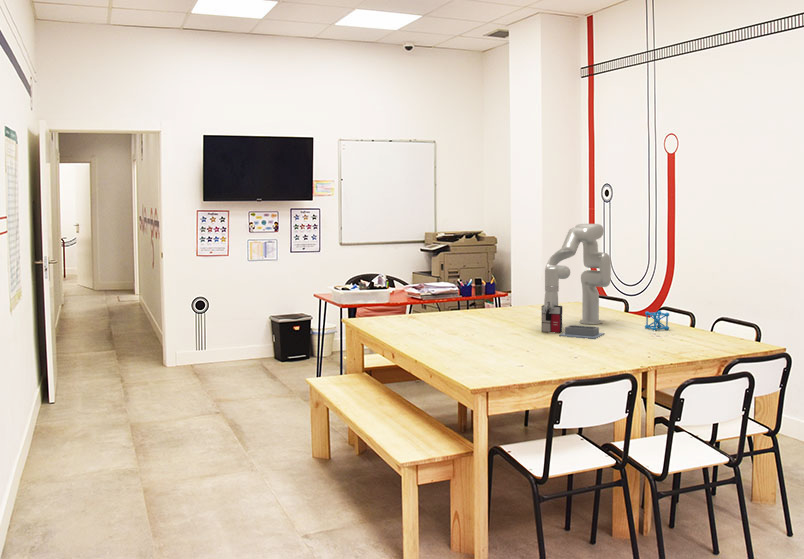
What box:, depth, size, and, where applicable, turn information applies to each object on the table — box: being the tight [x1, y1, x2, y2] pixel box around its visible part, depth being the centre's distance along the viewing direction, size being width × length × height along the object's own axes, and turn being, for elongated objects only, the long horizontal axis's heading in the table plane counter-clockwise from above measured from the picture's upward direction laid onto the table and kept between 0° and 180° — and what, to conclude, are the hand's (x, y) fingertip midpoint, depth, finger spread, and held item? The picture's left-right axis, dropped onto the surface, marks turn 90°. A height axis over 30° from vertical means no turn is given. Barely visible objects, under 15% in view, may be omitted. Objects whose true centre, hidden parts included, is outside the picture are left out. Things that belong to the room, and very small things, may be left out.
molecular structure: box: [644, 310, 670, 331], centre depth 411 cm, size 10×10×10 cm
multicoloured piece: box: [541, 304, 563, 334], centre depth 408 cm, size 11×4×15 cm, turn 62°
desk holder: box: [558, 324, 605, 340], centre depth 397 cm, size 16×20×4 cm
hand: (551, 319), depth 408 cm, fingers open, 9 cm apart
